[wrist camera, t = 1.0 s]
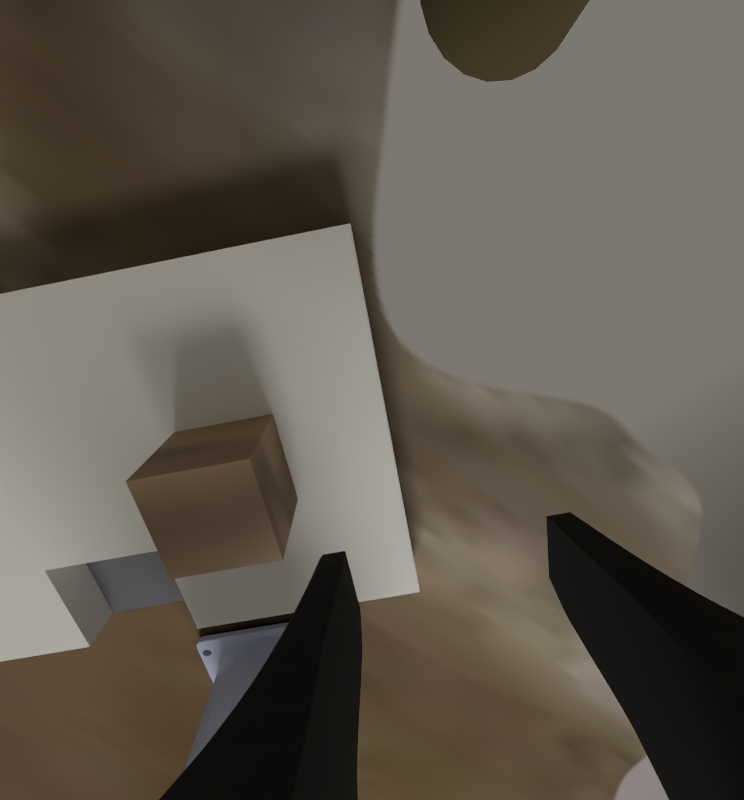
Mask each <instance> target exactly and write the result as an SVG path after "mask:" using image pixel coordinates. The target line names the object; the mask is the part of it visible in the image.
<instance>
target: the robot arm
mask: <svg viewBox="0 0 744 800" xmlns="http://www.w3.org/2000/svg"><path fill="white" fill-rule="evenodd" d="M547 537H548V561H549V578H550V580H551V582H552V584H553V587H554V589H555V591H556V593H557V596H558V598H559V600H560V602H561V604H562V606H563V608H564V611H565V613H566V615H567V617H568V618H569V620H570V622H571V624H572V625H573V627H574V629H575V630H576V632H577V634H578V635H579V637H580V639H581V640H582V642H583V644H584V645H585V647H586V649H587V650H588V652H589V654H590V655H591V657H592V659H593V660H594V662H595V664H596V665H597V667H598V669H599V670H600V672H601V674H602V675H603V677H604V679H605V680H606V682H607V683H608V685H609V687H610V688H611V690H612V692H613V693H614V695H615V697H616V698H617V700H618V702H619V703H620V705H621V707H622V708H623V710H624V712H625V714H626V716H627V717H628V719H629V721H630V723H631V724H632V726H633V728H634V730H635V732H636V734H637V736H638V738H639V740H640V742H641V744H642V746H643V748H644V750H645V752H646V754H647V756H648V758H649V760H650V762H651V763H652V766H653V768H654V770H655V772H656V774H657V776H658V778H659V780H660V782H661V784H662V786H663V788H664V790H665V792H666V794H667V796H668V798H669V800H744V617H742V616H740V615H738V614H736V613H734V612H732V611H730V610H728V609H726V608H724V607H722V606H720V605H718V604H717V603H715V602H713V601H711V600H709V599H707V598H705V597H704V596H702V595H700V594H698V593H696V592H695V591H693V590H691V589H689V588H688V587H686V586H684V585H682V584H681V583H679V582H677V581H675V580H674V579H672V578H670V577H669V576H667V575H665V574H664V573H662V572H660V571H659V570H657V569H655V568H654V567H652V566H650V565H649V564H647V563H646V562H644V561H642V560H641V559H639V558H638V557H636V556H635V555H633V554H632V553H630V552H628V551H627V550H625V549H624V548H622V547H621V546H619V545H618V544H616V543H615V542H613V541H612V540H610V539H609V538H607V537H606V536H604V535H603V534H601V533H600V532H598V531H597V530H595V529H594V528H593V527H591V526H590V525H588V524H587V523H585V522H584V521H582V520H581V519H579V518H578V517H576V516H575V515H573V514H572V513H570V512H569V513H564V514H558V515H552V516H547ZM196 647H197V649H198V652H199V654H200V656H201V658H202V660H203V662H204V664H205V666H206V669H207V671H208V673H209V675H210V677H211V679H212V681H213V686H212V689H211V692H210V695H209V698H208V701H207V704H206V707H205V710H204V713H203V716H202V719H201V722H200V725H199V728H198V731H197V734H196V737H195V740H194V743H193V746H192V749H191V752H190V755H189V758H188V761H187V764H186V767H185V770H184V771H183V773H182V774H181V775H180V776H179V777H178V778H177V780H176V781H175V782H174V783H173V784H172V785H171V787H170V788H169V789H168V790H167V791H166V792H165V794H164V795H163V796H162V797H161V798H160V799H159V800H358V795H357V745H358V725H359V706H360V687H361V666H362V632H361V615H360V606H359V602H358V598H357V594H356V591H355V587H354V583H353V579H352V575H351V571H350V568H349V564H348V560H347V556H346V552H345V551H342V552H336V553H330V554H324V555H322V556H321V558H320V559H319V561H318V564H317V566H316V568H315V571H314V573H313V575H312V577H311V579H310V581H309V584H308V586H307V588H306V590H305V592H304V594H303V596H302V598H301V600H300V602H299V604H298V606H297V608H296V609H295V611H294V613H293V615H292V617H291V619H290V621H289V622H286V623H280V624H274V625H268V626H262V627H256V628H250V629H244V630H238V631H232V632H226V633H220V634H214V635H208V636H203V637H200V638H199V640H198V642H197V645H196Z"/></svg>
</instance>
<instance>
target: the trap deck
mask: <svg viewBox="0 0 744 800" xmlns="http://www.w3.org/2000/svg"><path fill="white" fill-rule="evenodd" d="M270 414H273V416H274V420H275V423H276V426H277V430H278V433H279V436H280V440H281V443H282V447H283V450H284V453H285V457H286V460H287V464H288V467H289V470H290V474H291V477H292V481H293V484H294V487H295V491H296V494H297V497H298V501H297V505H296V509H295V513H294V517H293V522H292V526H291V530H290V534H289V538H288V542H287V546H286V550H285V555H284V559H283V560H281V561H275V562H269V563H263V564H257V565H251V566H246V567H240V568H234V569H228V570H222V571H216V572H211V573H205V574H199V575H193V576H187V577H181V578H175V579H170V576H169V574H168V572H167V570H166V568H165V566H164V563H163V561H162V559H161V557H160V555H159V553H158V550H157V548H156V546H155V544H154V542H153V540H152V538H151V535H150V533H149V531H148V529H147V527H146V525H145V522H144V520H143V518H142V516H141V514H140V512H139V509H138V507H137V505H136V503H135V501H134V499H133V496H132V494H131V492H130V490H129V488H128V486H127V483H126V480H127V479H128V478H129V477H130V476H131V475H132V474H133V473H134V472H135V471H136V470H137V469H138V468H139V467H140V466H141V465H142V464H143V463H144V462H145V461H146V460H147V459H148V458H149V457H150V456H151V455H152V454H153V453H154V452H155V451H156V450H157V449H158V448H159V447H160V446H161V445H162V444H163V443H164V442H165V441H166V440H167V439H168V438H169V437H170V436H171V435H172V434H173V433H174V432H178V431H183V430H189V429H194V428H199V427H205V426H210V425H216V424H221V423H226V422H232V421H237V420H243V419H248V418H253V417H259V416H264V415H270ZM342 551H345V552H346V556H347V560H348V564H349V568H350V571H351V575H352V579H353V583H354V587H355V591H356V594H357V598H358V602H362V601H368V600H374V599H380V598H386V597H392V596H398V595H404V594H410V593H416V592H420V590H419V584H418V579H417V573H416V567H415V562H414V556H413V551H412V545H411V540H410V535H409V529H408V524H407V519H406V513H405V508H404V503H403V498H402V492H401V487H400V482H399V476H398V471H397V466H396V460H395V455H394V450H393V445H392V439H391V434H390V429H389V423H388V418H387V413H386V407H385V402H384V397H383V391H382V386H381V381H380V376H379V370H378V365H377V360H376V354H375V349H374V344H373V338H372V333H371V328H370V322H369V317H368V312H367V307H366V301H365V296H364V291H363V285H362V280H361V275H360V269H359V264H358V259H357V253H356V248H355V243H354V238H353V232H352V227H351V224H350V223H349V224H344V225H339V226H334V227H329V228H324V229H319V230H314V231H309V232H304V233H299V234H295V235H290V236H285V237H280V238H275V239H270V240H265V241H260V242H255V243H250V244H245V245H240V246H235V247H230V248H225V249H220V250H215V251H210V252H205V253H200V254H195V255H191V256H186V257H181V258H176V259H171V260H166V261H161V262H156V263H151V264H146V265H141V266H136V267H131V268H126V269H121V270H116V271H111V272H106V273H101V274H96V275H91V276H87V277H82V278H77V279H72V280H67V281H62V282H57V283H52V284H47V285H42V286H37V287H32V288H27V289H22V290H17V291H12V292H7V293H2V294H0V662H1V661H7V660H13V659H19V658H25V657H31V656H37V655H43V654H49V653H55V652H61V651H67V650H73V649H79V648H85V647H90V646H91V644H92V643H93V641H94V640H95V638H96V637H97V635H98V634H99V632H100V631H101V629H102V628H103V626H104V625H105V624H106V622H107V621H108V619H109V618H110V616H111V615H112V613H113V612H119V611H125V610H131V609H137V608H143V607H149V606H155V605H161V604H167V603H173V602H178V601H184V600H185V602H186V605H187V607H188V609H189V611H190V613H191V615H192V618H193V620H194V622H195V624H196V626H197V629H199V628H205V627H211V626H217V625H223V624H229V623H235V622H241V621H248V620H254V619H260V618H266V617H272V616H278V615H284V614H290V613H294V611H295V609H296V608H297V606H298V604H299V602H300V600H301V598H302V596H303V594H304V592H305V590H306V588H307V586H308V584H309V581H310V579H311V577H312V575H313V573H314V571H315V568H316V566H317V564H318V561H319V559H320V558H321V556H322V555H324V554H330V553H336V552H342Z"/></svg>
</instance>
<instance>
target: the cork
mask: <svg viewBox="0 0 744 800" xmlns="http://www.w3.org/2000/svg"><path fill="white" fill-rule="evenodd" d="M588 1H589V0H421V6H422V10H423V14H424V17H425V21H426V24H427V28H428V31H429V34H430V36H431V37H432V39H433V41H434V42H435V44H436V45H437V47H438V49H439V50H440V52H441V53H442V55H443V57H444V58H445V59H447V60H448V61H449V62H450V63H451V64H452V65H454V66H455V67H456V68H457V69H459V70H460V71H461V72H463V74H466V75H469V76H472V77H475V78H478V79H481V80H484V81H487V82H488V81H500V80H512V79H514V78H517V77H519V76H521V75H523V74H525V73H528V72H530V71H532V70H534V69H536V68H537V67H538V66H539V65H540V64H541V63H542V62H544V61H545V60H546V59H547V58H548V57H549V56H550V55H551V54H552V53H553V52H555V50H557V48H558V47H559V45H560V44H561V42H562V41H563V39H564V38H565V36H566V35H567V33H568V32H569V30H570V29H571V27H572V26H573V24H574V22H575V21H576V20H577V18H578V16H579V15H580V13H581V12H582V10H583V9H584V7H585V6H586V4H587V3H588Z"/></svg>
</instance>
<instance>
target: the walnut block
mask: <svg viewBox="0 0 744 800" xmlns="http://www.w3.org/2000/svg"><path fill="white" fill-rule="evenodd" d="M126 483H127V486H128V488H129V490H130V492H131V494H132V496H133V499H134V501H135V503H136V505H137V507H138V509H139V512H140V514H141V516H142V518H143V520H144V522H145V525H146V527H147V529H148V531H149V533H150V535H151V538H152V540H153V542H154V544H155V546H156V548H157V550H158V553H159V555H160V557H161V559H162V561H163V563H164V566H165V568H166V570H167V572H168V574H169V576H170V579H175V578H181V577H187V576H193V575H199V574H205V573H211V572H216V571H222V570H228V569H234V568H240V567H246V566H251V565H257V564H263V563H269V562H275V561H281V560H283V559H284V555H285V550H286V546H287V542H288V538H289V534H290V530H291V526H292V522H293V517H294V513H295V509H296V505H297V501H298V497H297V494H296V491H295V487H294V484H293V481H292V477H291V474H290V470H289V467H288V464H287V460H286V457H285V453H284V450H283V447H282V443H281V440H280V436H279V433H278V430H277V426H276V423H275V420H274V416H273V414H270V415H264V416H259V417H253V418H248V419H243V420H237V421H232V422H226V423H221V424H216V425H210V426H205V427H199V428H194V429H189V430H183V431H178V432H174V433H173V434H172V435H171V436H170V437H169V438H168V439H167V440H166V441H165V442H164V443H163V444H162V445H161V446H160V447H159V448H158V449H157V450H156V451H155V452H154V453H153V454H152V455H151V456H150V457H149V458H148V459H147V460H146V461H145V462H144V463H143V464H142V465H141V466H140V467H139V468H138V469H137V470H136V471H135V472H134V473H133V474H132V475H131V476H130V477H129V478H128V479H127V480H126Z"/></svg>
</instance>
